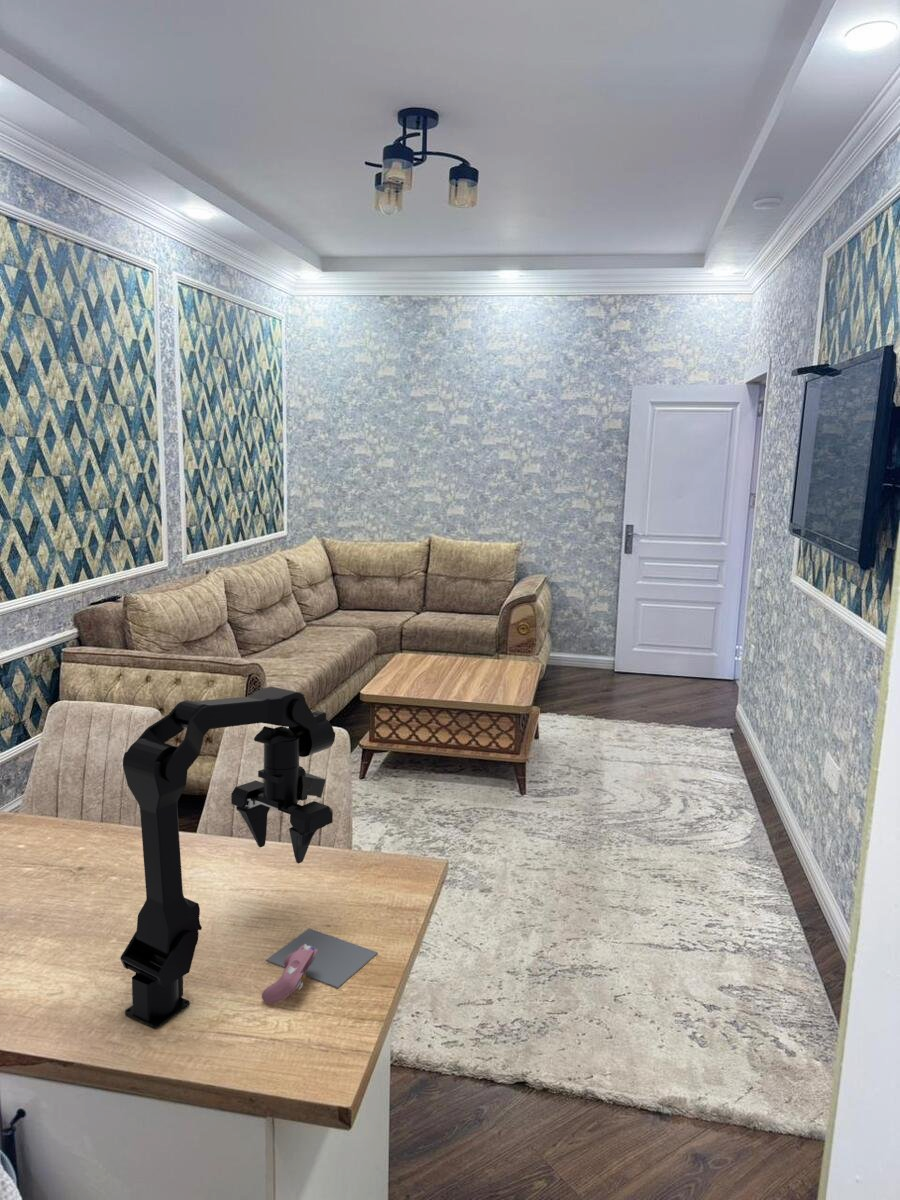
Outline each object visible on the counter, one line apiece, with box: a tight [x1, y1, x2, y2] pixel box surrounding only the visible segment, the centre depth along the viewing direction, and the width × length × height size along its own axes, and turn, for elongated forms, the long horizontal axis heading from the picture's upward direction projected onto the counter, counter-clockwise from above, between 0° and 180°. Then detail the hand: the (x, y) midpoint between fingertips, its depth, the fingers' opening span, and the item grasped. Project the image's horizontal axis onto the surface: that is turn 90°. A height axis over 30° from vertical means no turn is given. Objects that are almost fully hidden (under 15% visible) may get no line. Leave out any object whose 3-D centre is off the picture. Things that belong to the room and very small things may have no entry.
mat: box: [265, 927, 379, 989], centre depth 136 cm, size 11×14×1 cm
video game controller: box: [261, 944, 318, 1004], centre depth 127 cm, size 10×5×7 cm, turn 168°
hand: (280, 854), depth 141 cm, fingers open, 9 cm apart
